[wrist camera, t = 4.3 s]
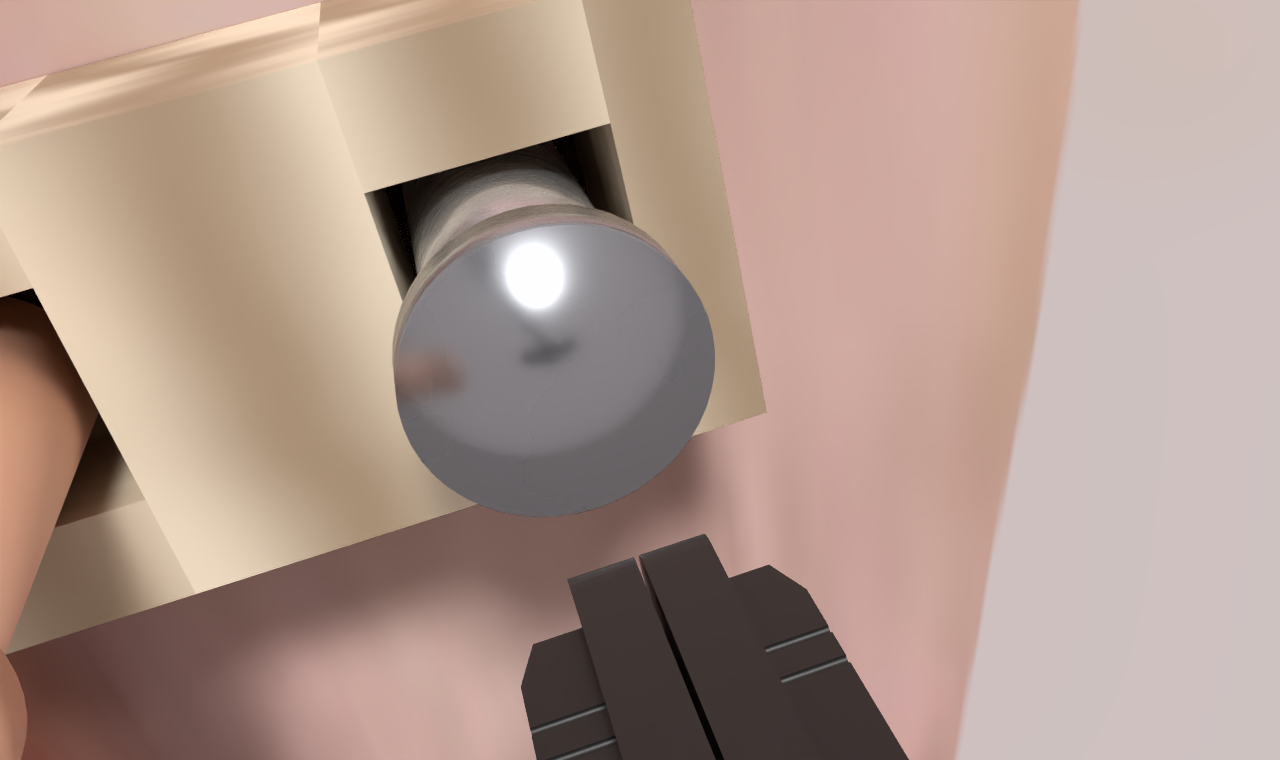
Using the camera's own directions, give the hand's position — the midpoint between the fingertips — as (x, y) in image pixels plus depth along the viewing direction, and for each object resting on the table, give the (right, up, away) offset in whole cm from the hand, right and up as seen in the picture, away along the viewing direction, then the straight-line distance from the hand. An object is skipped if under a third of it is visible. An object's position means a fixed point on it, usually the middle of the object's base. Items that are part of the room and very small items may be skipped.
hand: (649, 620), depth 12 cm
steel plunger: (-4, +7, +14) cm, 16 cm away
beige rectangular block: (-8, +6, +13) cm, 17 cm away
